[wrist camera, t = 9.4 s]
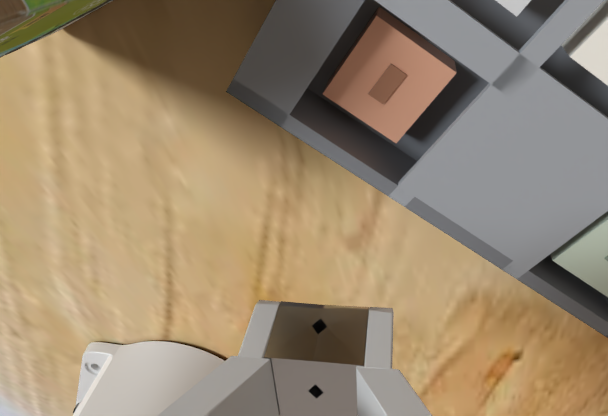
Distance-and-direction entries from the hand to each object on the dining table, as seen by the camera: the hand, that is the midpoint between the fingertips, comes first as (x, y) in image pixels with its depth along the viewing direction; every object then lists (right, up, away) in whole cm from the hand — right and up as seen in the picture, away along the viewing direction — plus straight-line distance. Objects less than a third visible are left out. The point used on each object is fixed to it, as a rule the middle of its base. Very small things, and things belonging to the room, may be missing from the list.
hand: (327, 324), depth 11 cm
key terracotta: (+3, +9, +11) cm, 15 cm away
